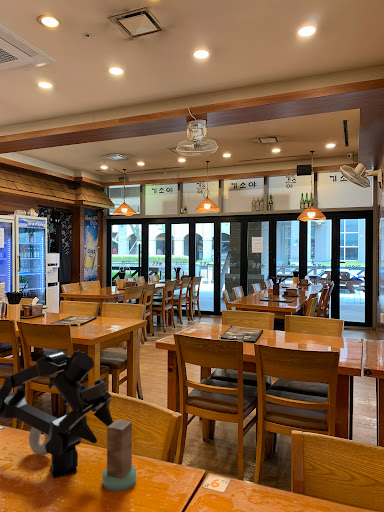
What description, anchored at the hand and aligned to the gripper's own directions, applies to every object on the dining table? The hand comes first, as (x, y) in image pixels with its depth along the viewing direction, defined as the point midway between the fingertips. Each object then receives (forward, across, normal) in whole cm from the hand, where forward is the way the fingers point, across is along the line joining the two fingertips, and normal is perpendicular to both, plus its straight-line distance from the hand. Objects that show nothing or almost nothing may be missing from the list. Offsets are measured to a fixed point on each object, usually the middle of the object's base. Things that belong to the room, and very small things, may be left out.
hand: (105, 435), depth 107 cm
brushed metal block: (+10, 0, +3) cm, 10 cm away
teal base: (+12, 0, +5) cm, 13 cm away
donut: (-9, +5, +27) cm, 29 cm away
